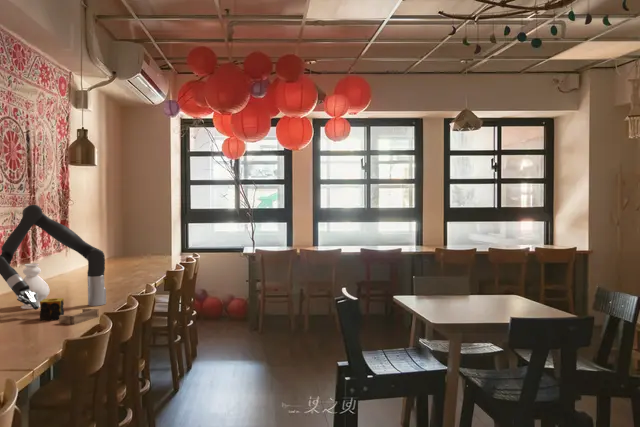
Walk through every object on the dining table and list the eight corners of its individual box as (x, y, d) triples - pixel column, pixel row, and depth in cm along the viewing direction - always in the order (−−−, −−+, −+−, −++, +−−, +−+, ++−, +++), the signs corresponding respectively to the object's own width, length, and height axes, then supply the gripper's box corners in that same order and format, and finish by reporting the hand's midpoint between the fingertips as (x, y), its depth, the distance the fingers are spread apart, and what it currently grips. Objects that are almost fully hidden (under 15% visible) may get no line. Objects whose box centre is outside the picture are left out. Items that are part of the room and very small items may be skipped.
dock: (59, 323, 286) (59, 315, 286) (84, 315, 305) (84, 308, 304) (74, 324, 284) (74, 316, 284) (98, 316, 302) (98, 309, 302)
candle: (39, 321, 292) (39, 301, 292) (43, 317, 302) (43, 298, 302) (60, 319, 295) (60, 300, 295) (64, 316, 305) (63, 297, 305)
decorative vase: (41, 302, 344) (40, 261, 344) (55, 306, 333) (54, 263, 332) (10, 307, 331) (9, 264, 330) (23, 311, 319) (22, 266, 319)
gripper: (12, 281, 297) (32, 306, 294) (31, 278, 310) (50, 301, 307) (4, 291, 298) (23, 315, 295) (23, 287, 311) (42, 310, 308)
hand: (37, 308), depth 301 cm, fingers closed
